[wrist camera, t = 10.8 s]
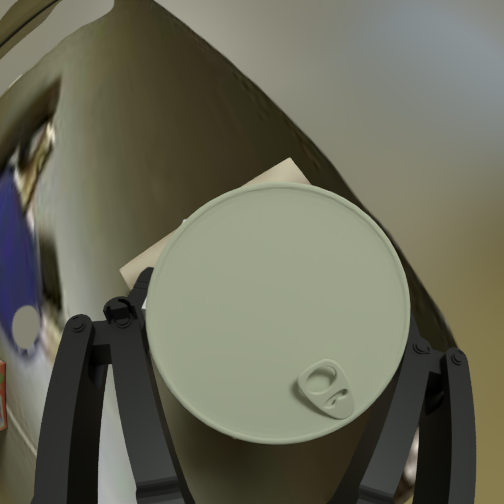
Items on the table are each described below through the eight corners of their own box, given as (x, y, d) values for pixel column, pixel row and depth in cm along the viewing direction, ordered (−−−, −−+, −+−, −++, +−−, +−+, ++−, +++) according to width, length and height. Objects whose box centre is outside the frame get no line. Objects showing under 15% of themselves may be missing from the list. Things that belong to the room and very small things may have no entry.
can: (248, 392, 20) (243, 491, 8) (177, 286, 21) (91, 274, 9) (354, 321, 20) (456, 343, 9) (284, 216, 22) (318, 129, 10)
